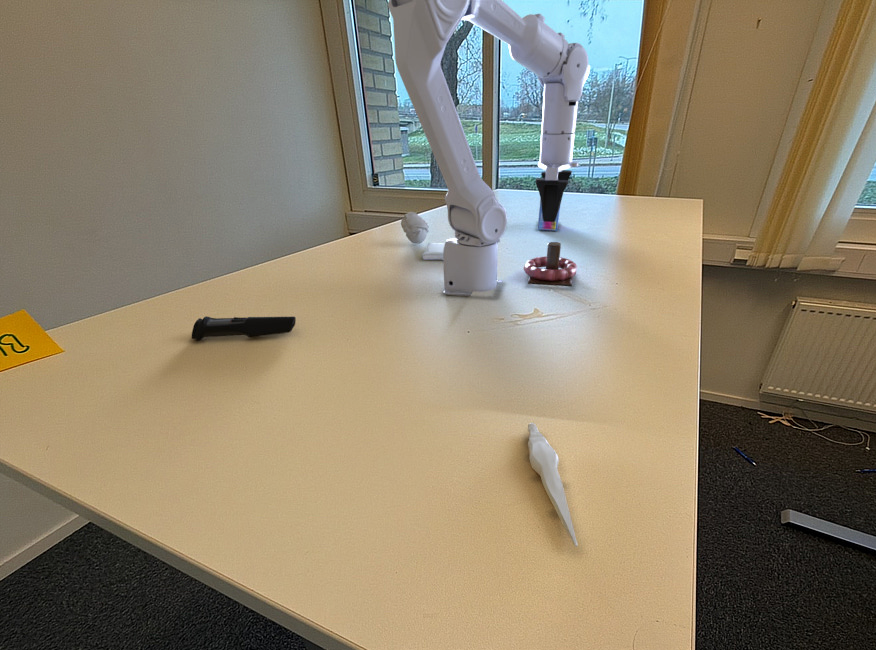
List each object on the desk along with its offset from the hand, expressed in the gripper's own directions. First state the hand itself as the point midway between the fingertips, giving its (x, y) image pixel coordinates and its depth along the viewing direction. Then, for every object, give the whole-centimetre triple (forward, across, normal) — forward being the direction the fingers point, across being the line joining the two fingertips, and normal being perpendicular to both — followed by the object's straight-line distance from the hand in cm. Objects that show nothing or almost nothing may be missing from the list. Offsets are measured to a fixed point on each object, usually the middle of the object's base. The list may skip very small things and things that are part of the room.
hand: (551, 216), depth 83 cm
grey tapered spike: (+11, -60, -6) cm, 61 cm away
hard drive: (+11, +7, +22) cm, 25 cm away
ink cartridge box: (+11, +36, +3) cm, 38 cm away
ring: (+8, -4, -1) cm, 10 cm away
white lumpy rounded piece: (+6, +14, +33) cm, 37 cm away
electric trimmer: (+11, -38, +42) cm, 58 cm away
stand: (+10, -6, -1) cm, 12 cm away
